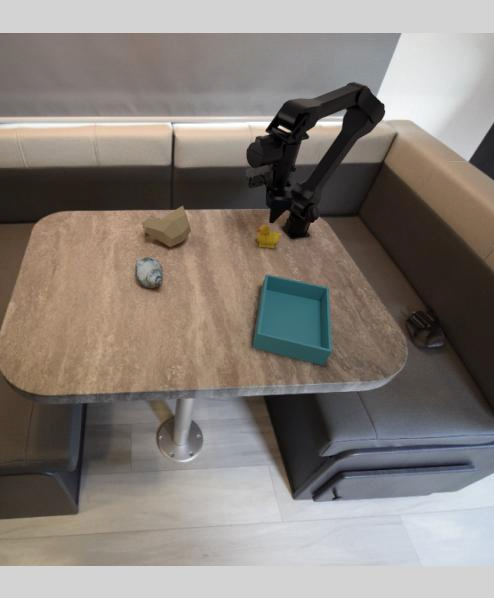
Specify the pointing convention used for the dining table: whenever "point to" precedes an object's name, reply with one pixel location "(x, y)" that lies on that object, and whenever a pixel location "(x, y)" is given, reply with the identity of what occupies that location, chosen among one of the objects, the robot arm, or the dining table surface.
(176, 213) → the tan rock
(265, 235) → the duck
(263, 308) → the teal tray
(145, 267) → the seashell
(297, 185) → the robot arm
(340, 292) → the dining table surface
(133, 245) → the dining table surface
